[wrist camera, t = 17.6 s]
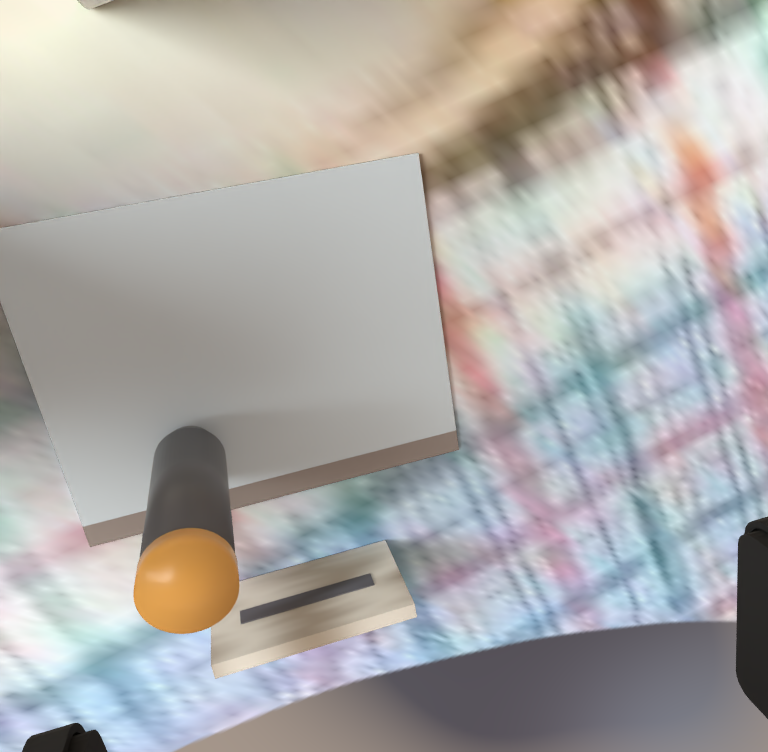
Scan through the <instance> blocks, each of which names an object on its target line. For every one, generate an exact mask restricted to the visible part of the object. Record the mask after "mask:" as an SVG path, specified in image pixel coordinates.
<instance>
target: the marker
mask: <svg viewBox="0 0 768 752" xmlns="http://www.w3.org/2000/svg"><path fill="white" fill-rule="evenodd" d="M238 594H239V574H238V564H237V558H236V555H235V547H234V537H233V526H232V516H231V505H230V495H229V484H228V474H227V463H226V454H225V450H224V447H223V445H222V443H221V442H220V440H219V439H218V438H217V437H216V436H214V435H213V434H212V433H210V432H208V431H207V430H205V429H203V428H201V427H197V426H185V427H181V428H179V429H176V430H175V431H173V432H171V433H170V434H168V435H167V436H166V437H164V438H163V439H162V440H161V441H160V443H159V444H158V446H157V448H156V450H155V453H154V458H153V466H152V473H151V480H150V487H149V495H148V502H147V509H146V516H145V524H144V531H143V538H142V545H141V553H140V559H139V562H138V565H137V571H136V578H135V585H134V602H135V606H136V608H137V610H138V612H139V614H140V615H141V616H142V618H143V619H144V620H145V621H146V622H148V623H149V624H150V625H152V626H153V627H155V628H157V629H160V630H162V631H165V632H169V633H177V634H186V633H194V632H198V631H202V630H204V629H207V628H209V627H211V626H213V625H215V624H216V623H218V622H219V621H221V620H222V619H223V618H224V617H225V616H226V615H227V614H228V613H229V612H230V611H231V609H232V608H233V606H234V605H235V603H236V600H237V598H238Z"/></svg>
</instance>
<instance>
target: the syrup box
mask: <svg viewBox="0 0 768 752" xmlns="http://www.w3.org/2000/svg"><path fill="white" fill-rule="evenodd" d="M78 1H79V2H80V3H81V5H82V6H83V7H85V8H87V9H92V8H95V7H97V6H100V5H103V4H105V3H108V2H110V1H113V0H78Z"/></svg>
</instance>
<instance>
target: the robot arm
mask: <svg viewBox="0 0 768 752" xmlns="http://www.w3.org/2000/svg"><path fill="white" fill-rule="evenodd" d="M736 674H737V678H738V682H739V684H740V686H741V688H742V689H743V691H744V693H745V694H746V696H747V697H748V698H749V699H750V700H751V701H752V703H753V704H754V705H755V706H756V707H757V708H758V709H759V710H760V711H761V712H762V713H763V714H764V715H765V716H766V718H767V719H768V517H765V518H762V519H758V520H755V521H752V522H750V523H748V525H747V526H746V528H745V533H744V535H742V536H741V537H740V538H739V541H738V580H737V644H736ZM22 752H107V750H106V747H105V745H104V743H103V740H102V738H101V736H100V734H99V733H98V731H96V730H91V731H88V732H85V730H84V728H83V727H82V725H80V724H79V723H73V724H70V725H66V726H63V727H60V728H56V729H53V730H50V731H46V732H43V733H40V734H36V735H33V736H31V737H30V738H29V739H28V740H27V741H26V743H25V746H24V748H23V751H22Z"/></svg>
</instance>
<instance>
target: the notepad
mask: <svg viewBox="0 0 768 752" xmlns="http://www.w3.org/2000/svg"><path fill="white" fill-rule="evenodd" d="M0 303H1V305H2V308H3V311H4V314H5V316H6V319H7V322H8V325H9V327H10V330H11V333H12V335H13V338H14V341H15V344H16V346H17V349H18V352H19V354H20V357H21V360H22V363H23V365H24V368H25V371H26V374H27V376H28V379H29V382H30V384H31V387H32V390H33V393H34V395H35V398H36V401H37V403H38V406H39V409H40V412H41V414H42V417H43V420H44V423H45V425H46V428H47V431H48V433H49V436H50V439H51V442H52V444H53V447H54V450H55V452H56V455H57V458H58V461H59V463H60V466H61V469H62V472H63V474H64V477H65V480H66V482H67V485H68V488H69V491H70V493H71V496H72V499H73V502H74V504H75V507H76V510H77V512H78V515H79V518H80V521H81V523H82V526H83V529H84V532H85V535H86V537H87V540H88V543H89V545H90V547H92V546H96V545H100V544H104V543H107V542H111V541H115V540H119V539H123V538H126V537H130V536H134V535H138V534H141V533H143V531H144V524H145V516H146V509H147V502H148V495H149V487H150V480H151V473H152V466H153V458H154V453H155V450H156V448H157V446H158V444H159V443H160V441H161V440H162V439H163V438H164V437H166V436H167V435H168V434H170V433H171V432H173V431H175V430H176V429H179V428H181V427H185V426H197V427H201V428H203V429H205V430H207V431H208V432H210V433H212V434H213V435H214V436H216V437H217V438H218V439H219V440H220V442H221V443H222V445H223V447H224V450H225V454H226V463H227V474H228V484H229V495H230V505H231V510H232V509H236V508H240V507H244V506H248V505H251V504H255V503H259V502H263V501H267V500H270V499H274V498H278V497H282V496H285V495H289V494H293V493H297V492H301V491H304V490H308V489H312V488H316V487H320V486H323V485H327V484H331V483H335V482H338V481H342V480H346V479H350V478H354V477H357V476H361V475H365V474H369V473H373V472H376V471H380V470H384V469H388V468H392V467H395V466H399V465H403V464H407V463H410V462H414V461H418V460H422V459H426V458H429V457H433V456H437V455H441V454H445V453H448V452H452V451H456V450H459V446H458V439H457V431H456V425H455V418H454V410H453V403H452V395H451V388H450V381H449V373H448V366H447V359H446V351H445V344H444V337H443V329H442V322H441V315H440V307H439V300H438V293H437V285H436V278H435V271H434V263H433V256H432V249H431V241H430V234H429V227H428V219H427V212H426V205H425V197H424V190H423V182H422V175H421V168H420V160H419V153H414V154H408V155H403V156H397V157H392V158H386V159H381V160H375V161H370V162H364V163H358V164H353V165H347V166H342V167H336V168H331V169H325V170H320V171H314V172H308V173H303V174H297V175H292V176H286V177H281V178H275V179H270V180H264V181H259V182H253V183H247V184H242V185H236V186H231V187H225V188H220V189H214V190H209V191H203V192H198V193H192V194H186V195H181V196H175V197H170V198H164V199H159V200H153V201H148V202H142V203H136V204H131V205H125V206H120V207H114V208H109V209H103V210H98V211H92V212H87V213H81V214H75V215H70V216H64V217H59V218H53V219H48V220H42V221H37V222H31V223H25V224H20V225H14V226H9V227H3V228H0Z"/></svg>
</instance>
